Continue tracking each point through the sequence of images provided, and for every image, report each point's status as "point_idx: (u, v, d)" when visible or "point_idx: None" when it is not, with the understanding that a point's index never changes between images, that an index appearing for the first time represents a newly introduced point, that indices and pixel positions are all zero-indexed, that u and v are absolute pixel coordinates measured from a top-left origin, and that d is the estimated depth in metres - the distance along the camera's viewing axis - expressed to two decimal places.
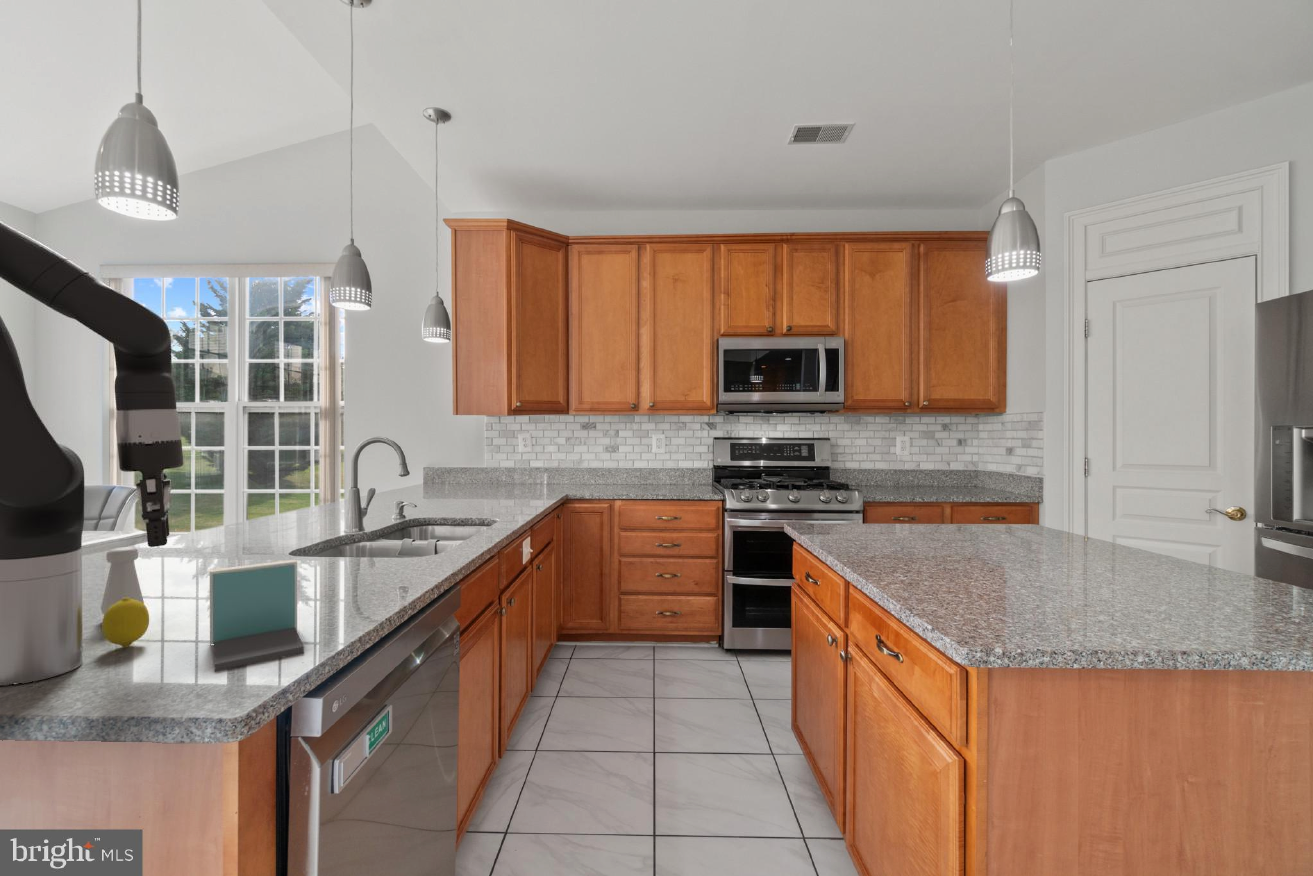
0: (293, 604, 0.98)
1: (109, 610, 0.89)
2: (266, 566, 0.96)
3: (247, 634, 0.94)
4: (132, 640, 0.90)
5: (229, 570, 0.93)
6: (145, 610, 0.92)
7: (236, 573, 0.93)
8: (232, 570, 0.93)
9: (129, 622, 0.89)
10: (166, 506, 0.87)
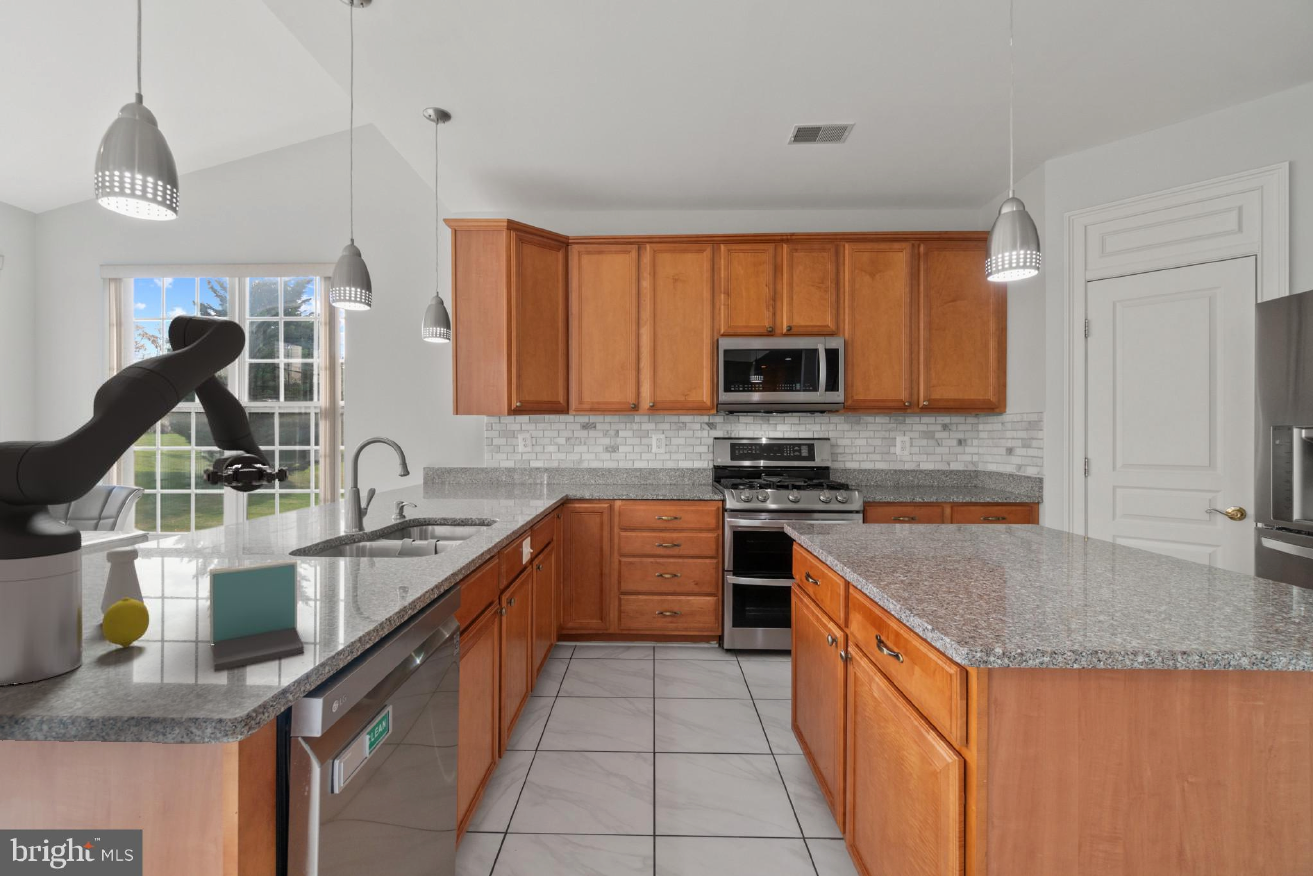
0: (293, 604, 0.98)
1: (109, 610, 0.89)
2: (266, 566, 0.96)
3: (247, 634, 0.94)
4: (132, 640, 0.90)
5: (229, 570, 0.93)
6: (145, 610, 0.92)
7: (236, 573, 0.93)
8: (232, 570, 0.93)
9: (129, 622, 0.89)
10: (265, 482, 1.10)
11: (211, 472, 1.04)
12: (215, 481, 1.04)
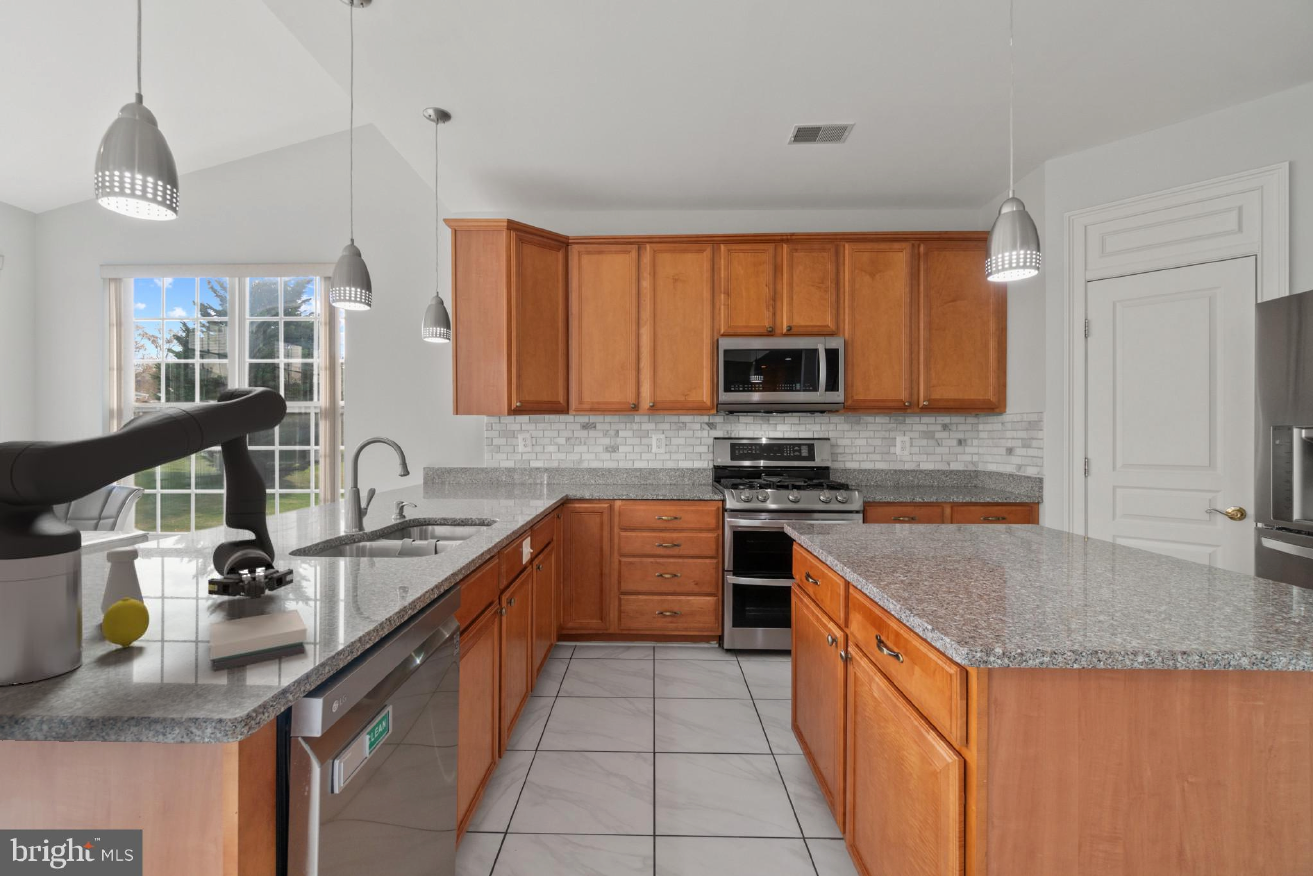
0: None
1: (109, 610, 0.89)
2: (273, 646, 0.87)
3: None
4: (132, 640, 0.90)
5: (232, 654, 0.84)
6: (145, 610, 0.92)
7: (239, 655, 0.85)
8: (235, 654, 0.84)
9: (129, 622, 0.89)
10: None
11: (233, 583, 0.95)
12: (236, 593, 0.96)
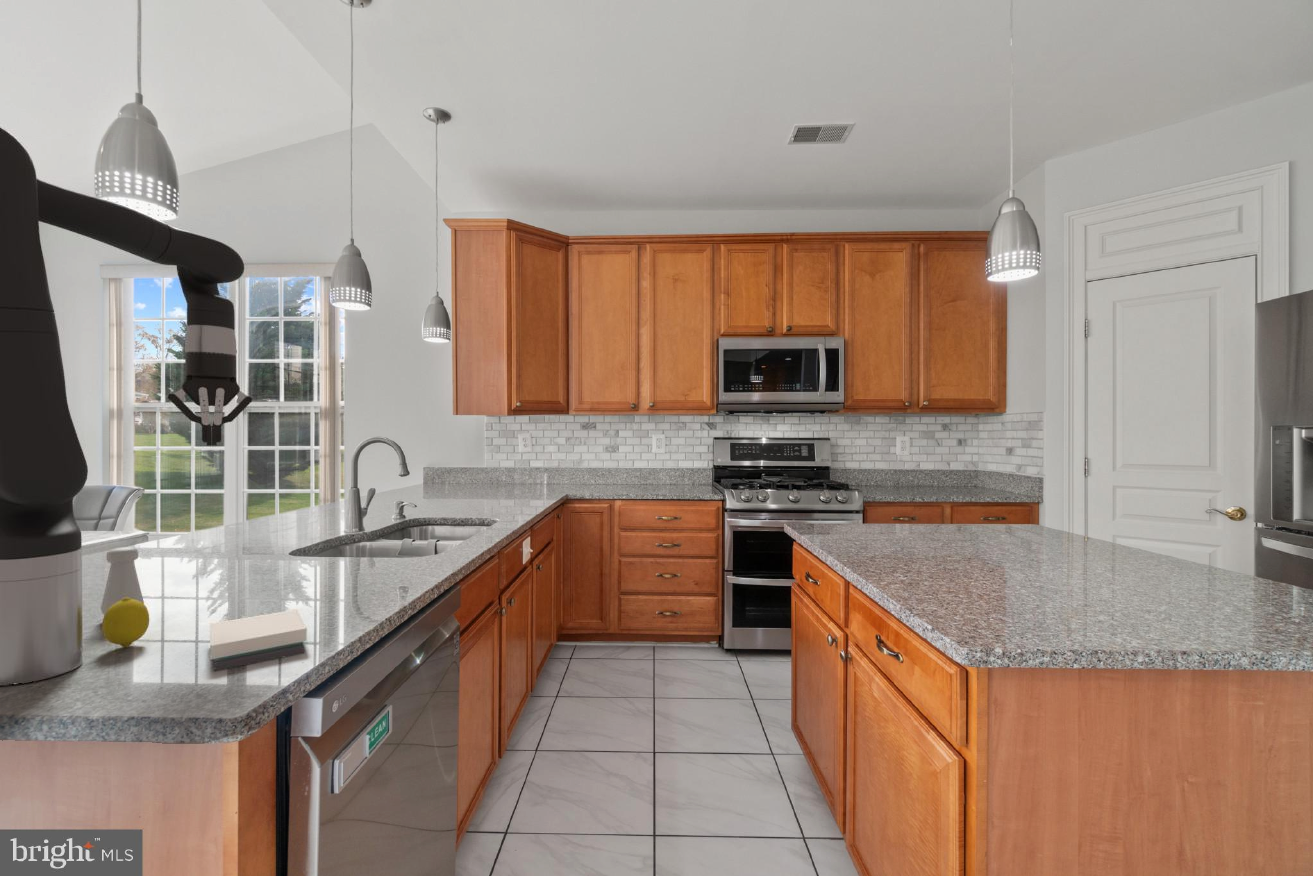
0: None
1: (109, 610, 0.89)
2: (273, 646, 0.87)
3: None
4: (132, 640, 0.90)
5: (232, 654, 0.84)
6: (145, 610, 0.92)
7: (239, 655, 0.85)
8: (235, 654, 0.84)
9: (129, 622, 0.89)
10: None
11: None
12: None
